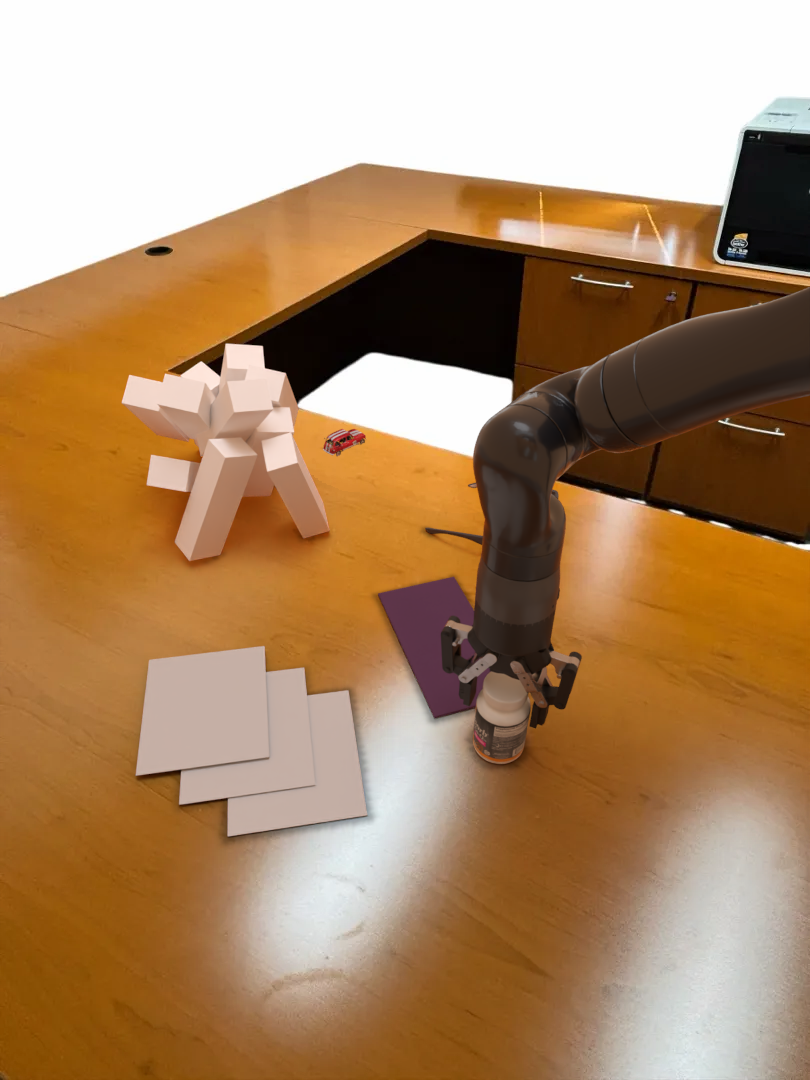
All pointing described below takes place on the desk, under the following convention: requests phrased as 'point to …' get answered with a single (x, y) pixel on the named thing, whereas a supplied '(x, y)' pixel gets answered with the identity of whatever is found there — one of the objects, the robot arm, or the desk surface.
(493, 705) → the pill bottle
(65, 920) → the desk surface
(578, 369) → the robot arm
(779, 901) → the desk surface
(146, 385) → the pile of blocks
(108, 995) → the desk surface
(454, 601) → the cloth
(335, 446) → the toy car
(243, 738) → the paper stack
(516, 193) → the desk surface
